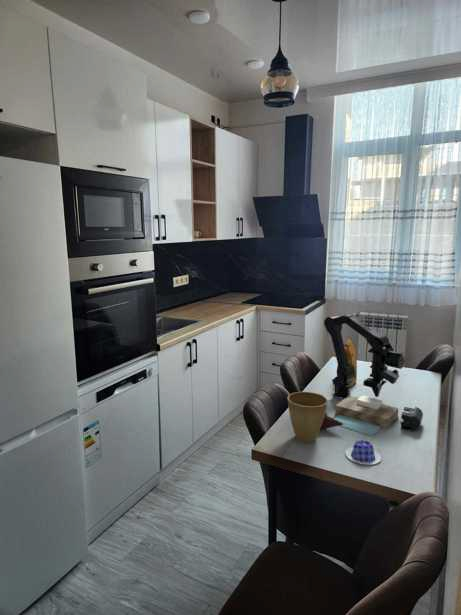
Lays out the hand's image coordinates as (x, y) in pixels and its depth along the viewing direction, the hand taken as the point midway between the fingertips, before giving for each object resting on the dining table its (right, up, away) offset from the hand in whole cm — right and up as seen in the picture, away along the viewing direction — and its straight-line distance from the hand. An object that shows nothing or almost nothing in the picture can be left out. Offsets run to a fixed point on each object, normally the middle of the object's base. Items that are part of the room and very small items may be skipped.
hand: (376, 396), depth 182 cm
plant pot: (-37, -10, -27) cm, 47 cm away
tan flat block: (-7, -6, -8) cm, 12 cm away
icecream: (-29, -9, -20) cm, 36 cm away
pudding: (-19, -13, -40) cm, 46 cm away
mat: (-15, -8, -17) cm, 24 cm away
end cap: (+8, -8, -18) cm, 21 cm away
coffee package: (-4, 0, +32) cm, 33 cm away
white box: (-5, -2, -6) cm, 9 cm away
